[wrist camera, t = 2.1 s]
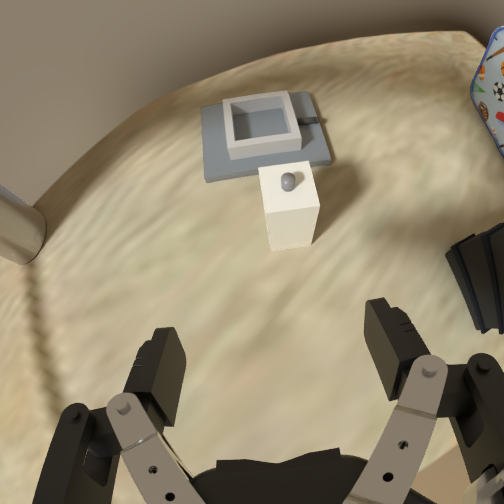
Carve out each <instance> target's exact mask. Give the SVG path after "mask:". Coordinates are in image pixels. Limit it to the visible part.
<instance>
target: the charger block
mask: <svg viewBox="0 0 504 504" xmlns="http://www.w3.org/2000/svg"><path fill="white" fill-rule="evenodd" d="M258 171H259V177H260V184H261V190H262V197H263V204H264V211H265V217H266V224H267V230H268V237H269V243H270V250H271V251H276V250H282V249H289V248H296V247H302V246H309V245H311V243H312V238H313V234H314V230H315V226H316V221H317V217H318V213H319V208H320V203H319V199H318V195H317V191H316V187H315V183H314V179H313V175H312V171H311V167H310V164H309V161H303V162H295V163H288V164H280V165H273V166H266V167H259V168H258Z"/></svg>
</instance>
